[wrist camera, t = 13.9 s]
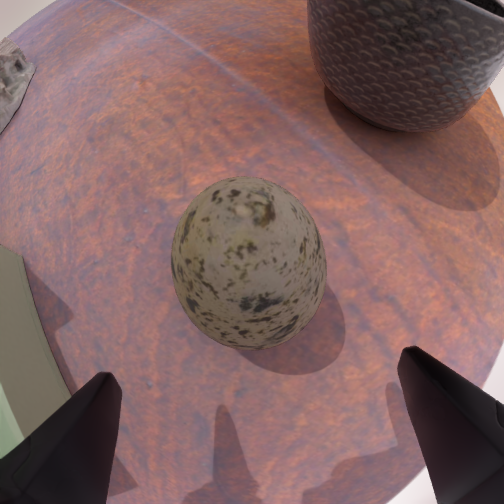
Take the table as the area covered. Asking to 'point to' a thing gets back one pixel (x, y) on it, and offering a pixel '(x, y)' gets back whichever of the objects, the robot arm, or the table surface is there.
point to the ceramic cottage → (12, 79)
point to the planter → (407, 57)
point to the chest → (23, 359)
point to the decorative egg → (248, 263)
